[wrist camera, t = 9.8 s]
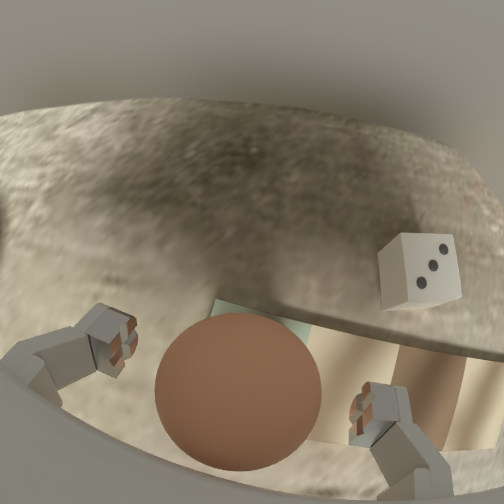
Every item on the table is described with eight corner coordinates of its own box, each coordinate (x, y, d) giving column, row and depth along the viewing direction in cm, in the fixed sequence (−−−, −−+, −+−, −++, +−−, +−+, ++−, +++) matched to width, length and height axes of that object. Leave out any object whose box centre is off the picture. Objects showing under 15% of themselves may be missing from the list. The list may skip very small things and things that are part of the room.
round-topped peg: (303, 337, 18) (391, 311, 6) (279, 419, 16) (318, 534, 4) (218, 314, 18) (148, 245, 6) (194, 395, 17) (87, 464, 5)
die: (424, 253, 20) (453, 234, 16) (430, 307, 19) (462, 297, 15) (376, 253, 20) (400, 232, 16) (381, 311, 19) (408, 301, 15)
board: (509, 364, 17) (515, 364, 16) (488, 446, 15) (494, 447, 14) (217, 300, 19) (215, 298, 19) (186, 404, 17) (183, 406, 17)
